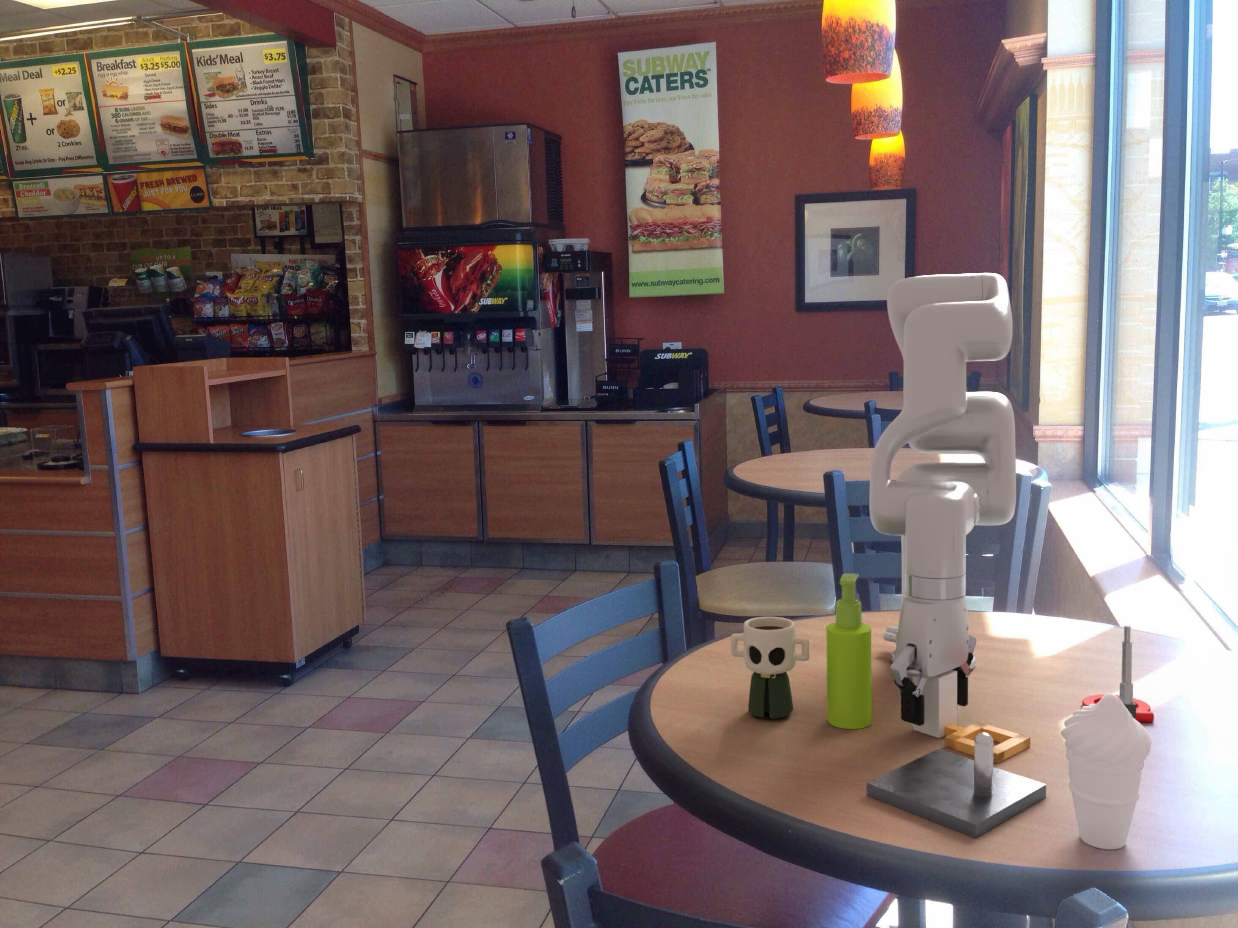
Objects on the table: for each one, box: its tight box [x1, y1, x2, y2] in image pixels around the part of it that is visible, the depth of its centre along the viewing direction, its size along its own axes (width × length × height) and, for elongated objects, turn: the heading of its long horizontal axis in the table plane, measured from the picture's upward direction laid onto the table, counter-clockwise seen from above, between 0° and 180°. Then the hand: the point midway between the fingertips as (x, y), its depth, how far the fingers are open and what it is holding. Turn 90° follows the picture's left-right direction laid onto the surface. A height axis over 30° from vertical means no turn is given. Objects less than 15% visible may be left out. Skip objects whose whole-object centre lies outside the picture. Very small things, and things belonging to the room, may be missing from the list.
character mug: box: [730, 616, 810, 719], centre depth 147 cm, size 11×7×13 cm, turn 72°
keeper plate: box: [866, 732, 1047, 839], centre depth 120 cm, size 14×14×8 cm
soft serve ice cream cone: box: [1060, 692, 1152, 850], centre depth 108 cm, size 8×8×16 cm
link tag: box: [912, 669, 1031, 764], centre depth 136 cm, size 13×7×8 cm, turn 39°
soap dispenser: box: [825, 572, 873, 730], centre depth 143 cm, size 6×7×20 cm
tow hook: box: [1081, 625, 1155, 723], centre depth 144 cm, size 8×13×9 cm
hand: (934, 712), depth 139 cm, fingers open, 9 cm apart
